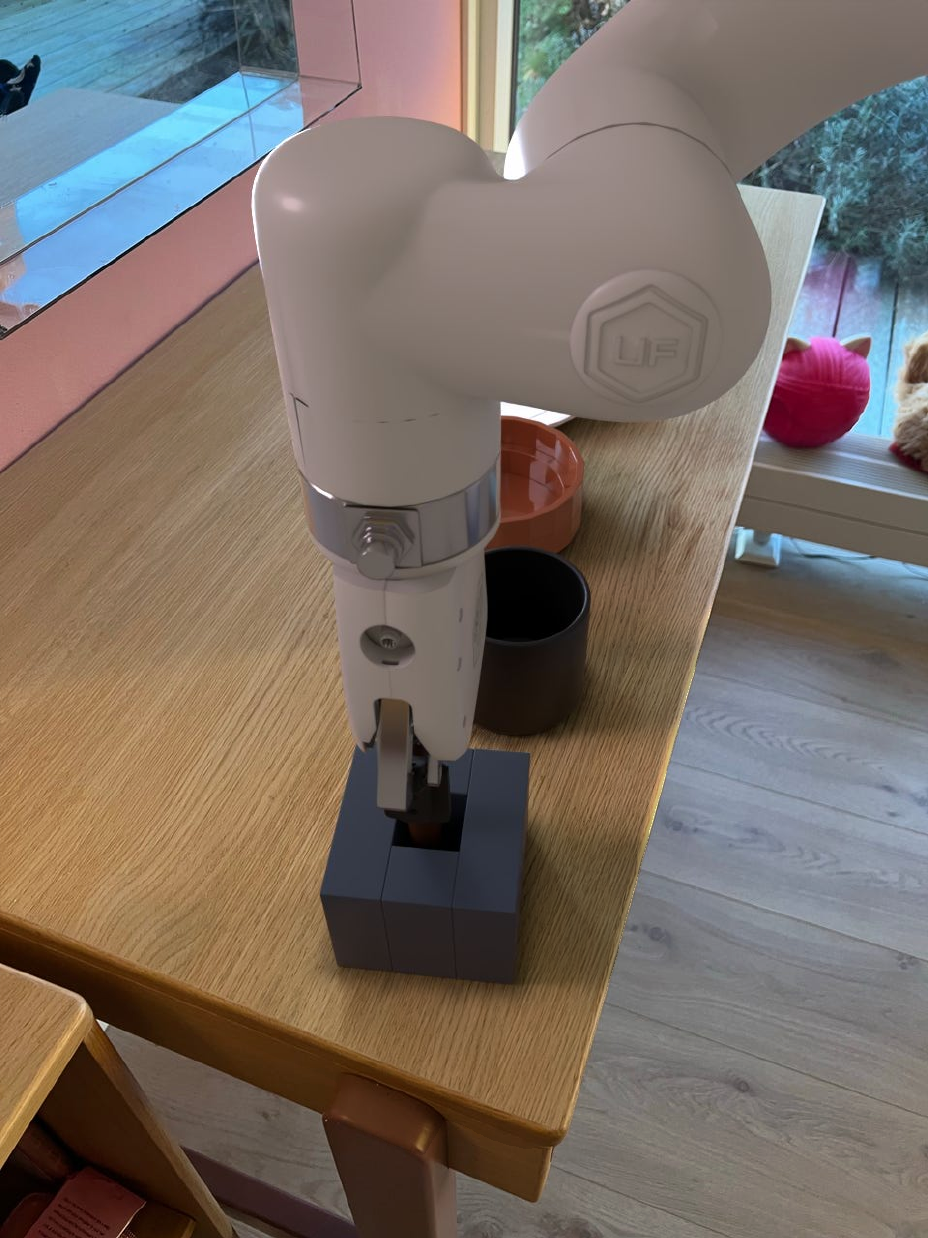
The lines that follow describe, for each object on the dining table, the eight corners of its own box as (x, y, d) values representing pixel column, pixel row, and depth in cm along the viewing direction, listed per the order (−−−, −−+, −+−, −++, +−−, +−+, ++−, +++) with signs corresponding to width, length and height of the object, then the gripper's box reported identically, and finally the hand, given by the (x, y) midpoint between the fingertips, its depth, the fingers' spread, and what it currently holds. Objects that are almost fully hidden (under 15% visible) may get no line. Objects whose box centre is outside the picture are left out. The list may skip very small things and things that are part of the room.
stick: (448, 882, 60) (435, 685, 47) (444, 910, 59) (429, 715, 46) (419, 879, 60) (397, 682, 47) (414, 907, 59) (390, 712, 46)
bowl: (583, 471, 88) (586, 418, 84) (576, 581, 78) (580, 527, 74) (423, 463, 89) (419, 411, 86) (397, 570, 80) (391, 516, 76)
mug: (597, 623, 75) (606, 530, 68) (571, 749, 67) (578, 657, 60) (474, 604, 77) (472, 512, 70) (434, 724, 68) (427, 633, 62)
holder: (527, 830, 62) (530, 752, 57) (514, 985, 55) (515, 913, 50) (369, 816, 63) (356, 738, 58) (336, 966, 56) (318, 894, 51)
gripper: (475, 655, 31) (482, 934, 44) (518, 368, 43) (514, 655, 56) (243, 639, 32) (317, 918, 45) (348, 361, 44) (382, 645, 57)
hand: (426, 769), depth 51 cm, fingers open, 4 cm apart
